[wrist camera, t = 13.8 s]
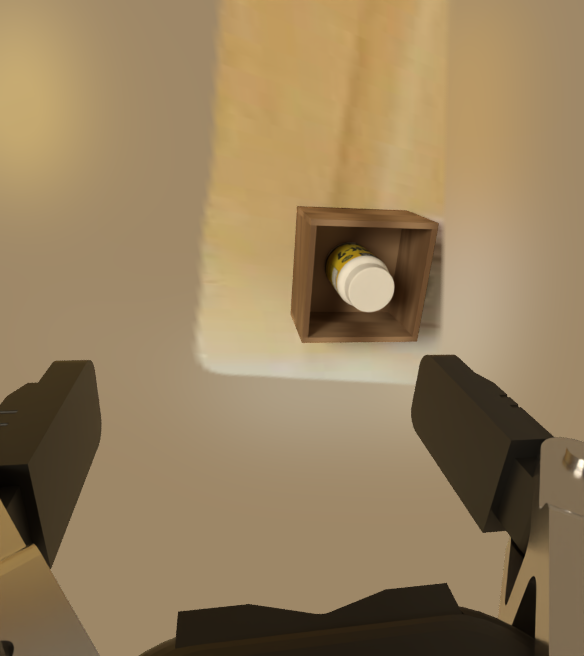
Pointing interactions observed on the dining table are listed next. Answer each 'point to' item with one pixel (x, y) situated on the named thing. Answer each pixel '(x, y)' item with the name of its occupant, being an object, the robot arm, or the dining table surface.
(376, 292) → the supplement bottle
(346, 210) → the wooden box
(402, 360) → the dining table surface
